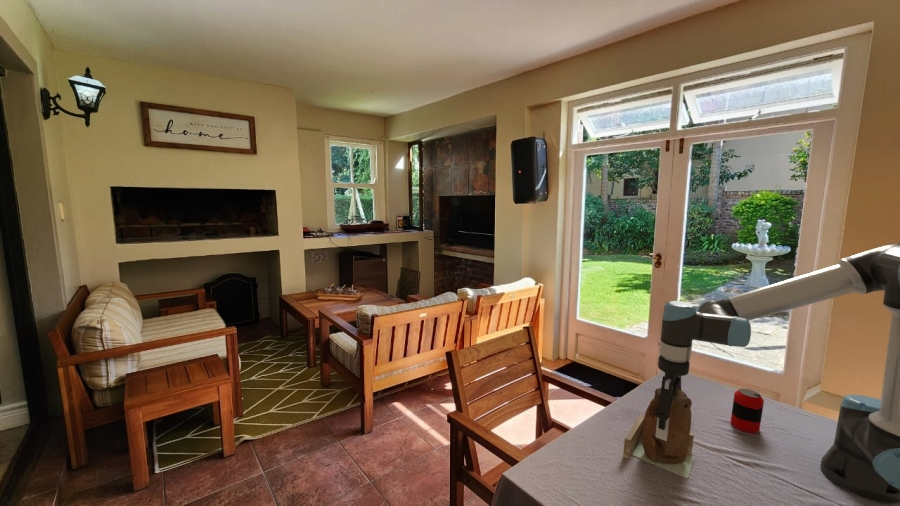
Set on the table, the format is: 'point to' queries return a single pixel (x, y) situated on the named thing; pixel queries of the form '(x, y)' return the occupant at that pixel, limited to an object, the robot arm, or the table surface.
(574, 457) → the table surface
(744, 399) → the soda can
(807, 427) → the table surface
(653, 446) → the brown sandstone rock
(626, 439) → the wooden l-shaped piece
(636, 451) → the pad
